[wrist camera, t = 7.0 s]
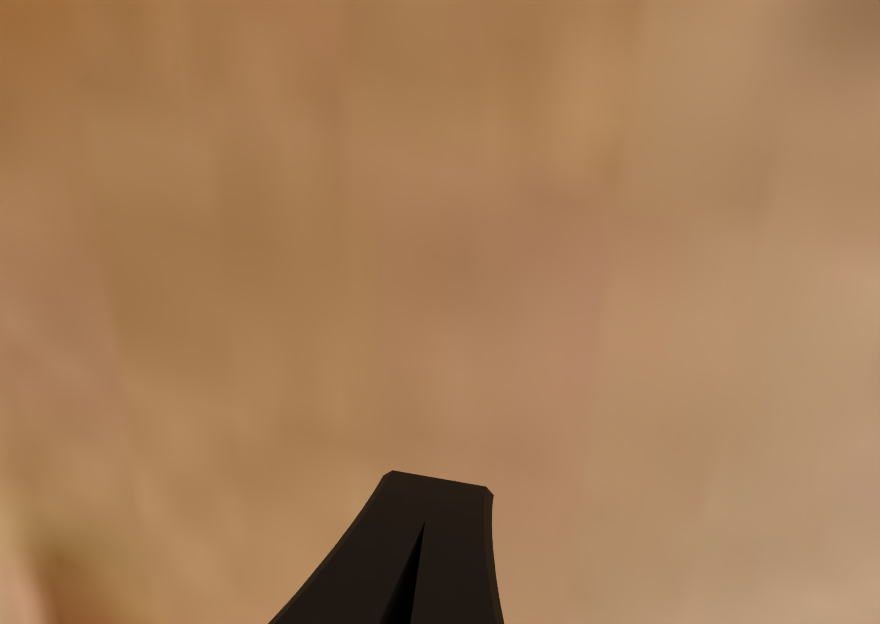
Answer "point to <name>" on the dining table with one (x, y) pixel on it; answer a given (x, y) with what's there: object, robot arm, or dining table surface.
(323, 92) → the dining table surface
